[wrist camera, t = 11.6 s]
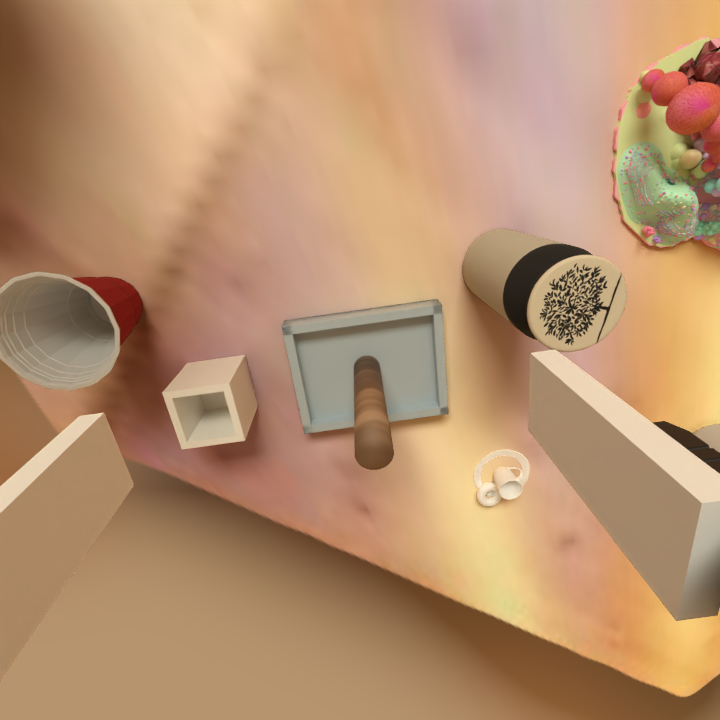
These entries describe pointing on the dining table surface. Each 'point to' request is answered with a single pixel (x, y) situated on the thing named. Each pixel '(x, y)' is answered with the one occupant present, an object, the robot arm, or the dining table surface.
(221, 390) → the square open box
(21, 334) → the plastic cup
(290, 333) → the tray
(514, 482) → the cream curved piece
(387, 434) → the dowel
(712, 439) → the can
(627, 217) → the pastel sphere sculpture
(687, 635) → the dining table surface
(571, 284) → the travel mug
